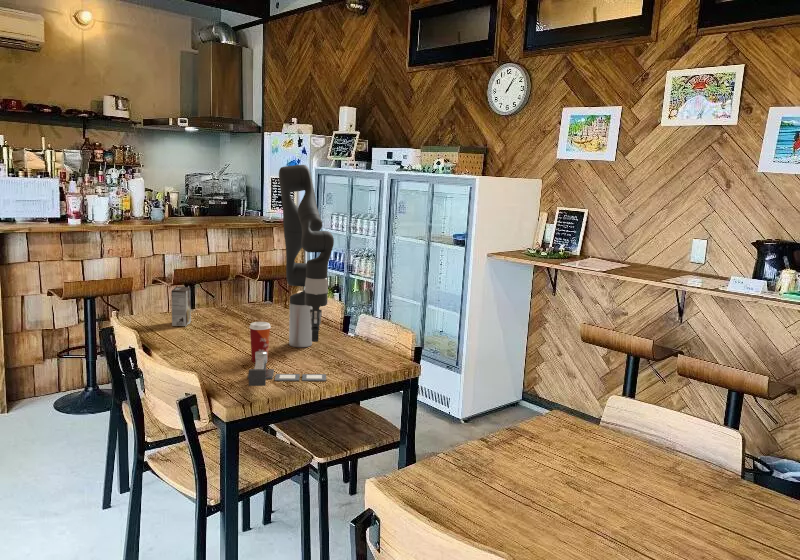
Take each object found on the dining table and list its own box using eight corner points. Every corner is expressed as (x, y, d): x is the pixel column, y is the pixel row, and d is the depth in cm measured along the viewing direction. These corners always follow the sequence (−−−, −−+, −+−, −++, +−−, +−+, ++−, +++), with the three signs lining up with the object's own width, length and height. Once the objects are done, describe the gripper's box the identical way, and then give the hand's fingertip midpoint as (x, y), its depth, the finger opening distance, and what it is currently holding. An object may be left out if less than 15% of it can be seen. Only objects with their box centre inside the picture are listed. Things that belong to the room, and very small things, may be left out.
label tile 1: (276, 375, 208) (276, 373, 208) (299, 375, 209) (299, 373, 209) (274, 380, 202) (274, 379, 202) (299, 381, 204) (299, 379, 203)
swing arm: (254, 363, 209) (254, 349, 208) (269, 363, 209) (269, 349, 209) (248, 385, 187) (248, 370, 186) (265, 385, 188) (265, 370, 187)
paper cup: (265, 364, 219) (265, 327, 216) (245, 362, 220) (245, 325, 218) (273, 358, 226) (274, 322, 224) (254, 356, 228) (254, 320, 225)
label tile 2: (302, 375, 210) (302, 373, 209) (325, 375, 211) (326, 373, 211) (302, 381, 204) (302, 379, 204) (326, 381, 205) (326, 379, 205)
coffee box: (176, 321, 273) (176, 286, 270) (191, 322, 274) (191, 286, 271) (171, 326, 264) (170, 290, 261) (186, 327, 265) (186, 290, 262)
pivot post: (250, 371, 211) (250, 359, 210) (273, 371, 212) (274, 359, 211) (247, 378, 203) (247, 366, 203) (272, 378, 204) (272, 366, 204)
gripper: (305, 286, 208) (304, 335, 211) (304, 294, 195) (303, 346, 198) (327, 287, 209) (326, 336, 212) (327, 295, 196) (326, 346, 199)
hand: (315, 341), depth 205 cm, fingers closed
